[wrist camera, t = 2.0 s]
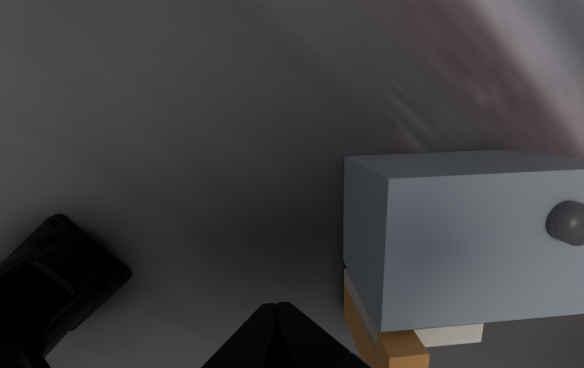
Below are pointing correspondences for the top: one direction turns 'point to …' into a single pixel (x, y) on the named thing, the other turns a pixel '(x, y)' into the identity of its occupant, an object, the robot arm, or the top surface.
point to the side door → (397, 335)
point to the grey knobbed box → (464, 236)
